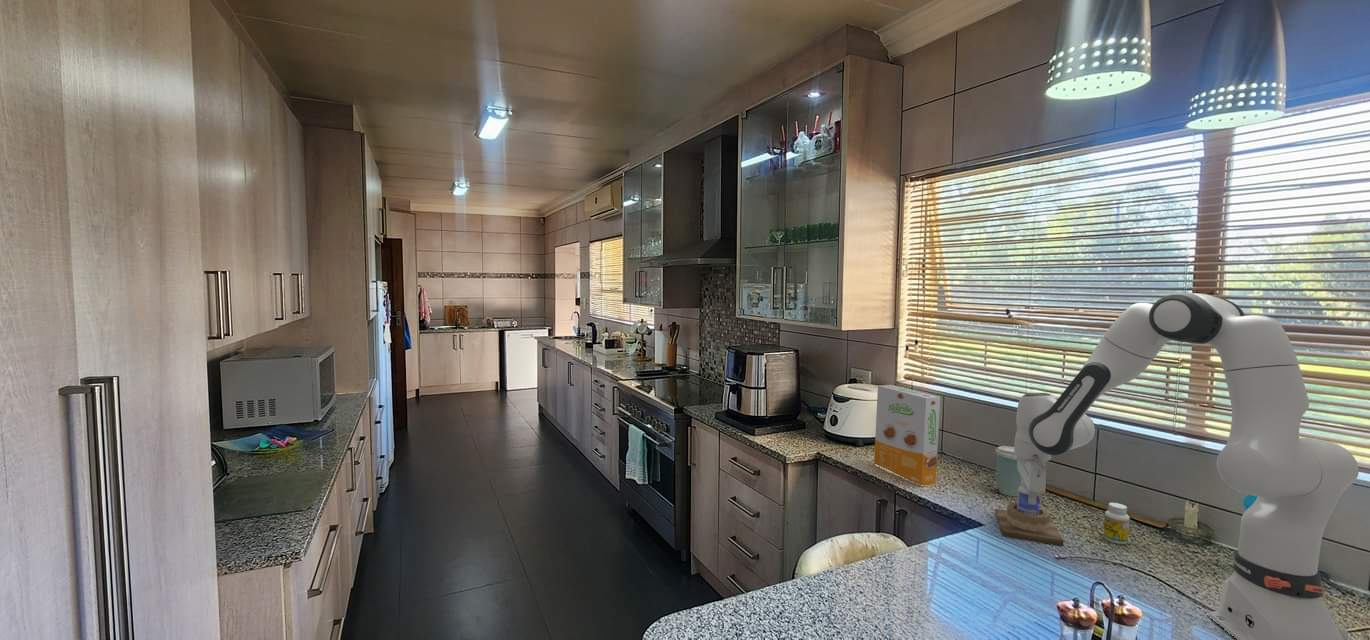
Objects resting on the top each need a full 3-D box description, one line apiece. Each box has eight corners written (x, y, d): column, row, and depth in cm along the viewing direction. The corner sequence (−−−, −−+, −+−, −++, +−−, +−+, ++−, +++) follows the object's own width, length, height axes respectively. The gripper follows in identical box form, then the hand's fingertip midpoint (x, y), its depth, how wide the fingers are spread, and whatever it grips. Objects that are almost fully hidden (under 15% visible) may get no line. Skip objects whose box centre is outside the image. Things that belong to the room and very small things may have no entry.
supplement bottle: (1132, 543, 153) (1135, 508, 152) (1118, 545, 151) (1121, 510, 150) (1112, 534, 158) (1115, 500, 157) (1098, 536, 156) (1100, 502, 156)
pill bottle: (1042, 519, 157) (1045, 485, 156) (1020, 517, 158) (1023, 483, 157) (1034, 511, 162) (1037, 478, 162) (1013, 509, 163) (1016, 476, 163)
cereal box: (935, 484, 194) (940, 397, 191) (921, 487, 191) (926, 398, 189) (887, 464, 214) (891, 384, 212) (874, 466, 212) (877, 385, 209)
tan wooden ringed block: (1063, 545, 150) (1064, 525, 150) (1002, 535, 156) (1004, 516, 155) (1049, 522, 165) (1051, 503, 165) (995, 513, 170) (996, 495, 170)
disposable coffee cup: (985, 487, 192) (988, 443, 191) (1017, 487, 193) (1020, 443, 192) (1004, 499, 182) (1007, 453, 181) (1037, 499, 182) (1040, 453, 181)
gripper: (1054, 463, 148) (1050, 515, 149) (1038, 442, 167) (1035, 488, 168) (1026, 459, 150) (1022, 510, 151) (1013, 439, 169) (1010, 485, 170)
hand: (1029, 498), depth 160 cm, fingers closed on pill bottle, 5 cm apart
